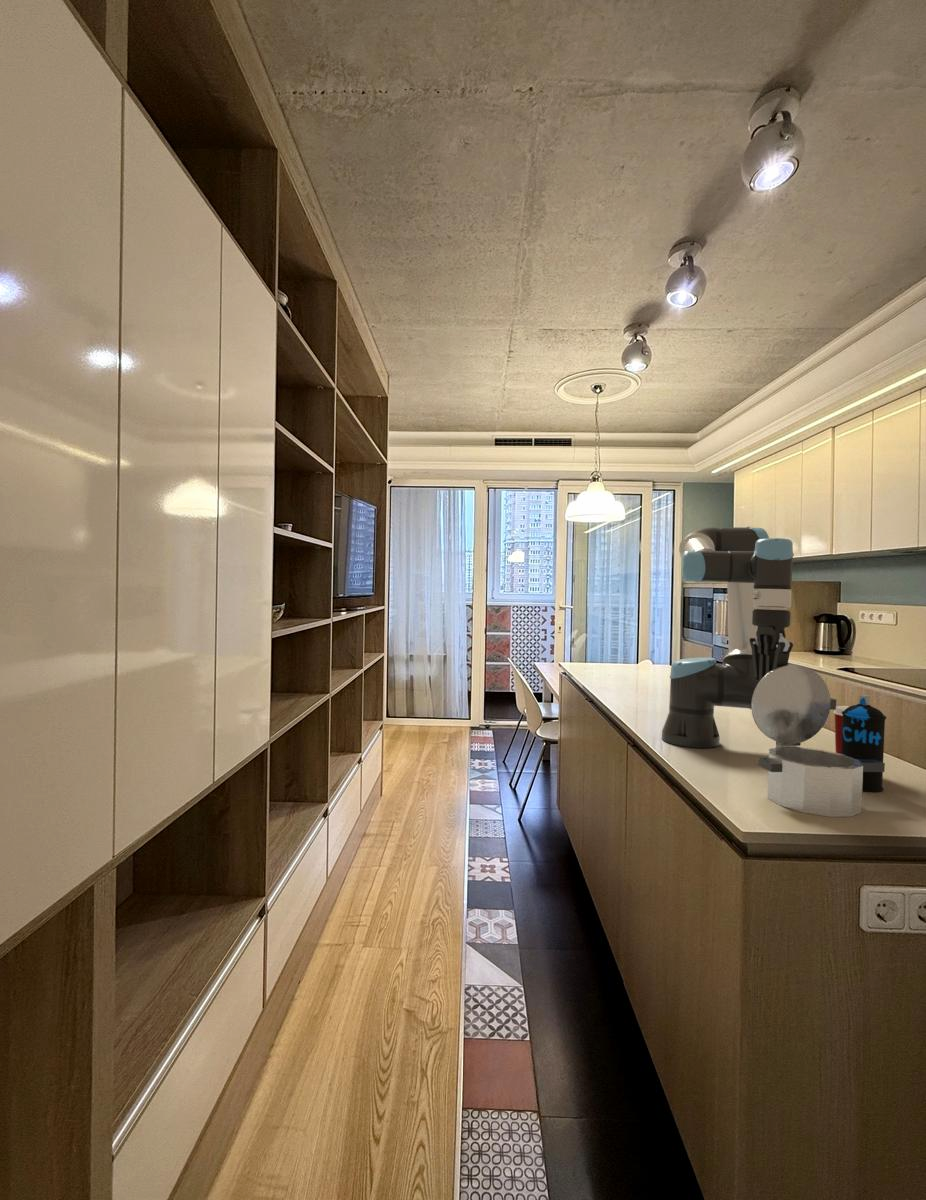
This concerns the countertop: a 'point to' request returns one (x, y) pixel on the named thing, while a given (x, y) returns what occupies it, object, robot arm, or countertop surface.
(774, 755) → the pot
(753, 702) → the lid
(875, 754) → the aerosol can
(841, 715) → the coffee cup
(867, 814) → the countertop surface
